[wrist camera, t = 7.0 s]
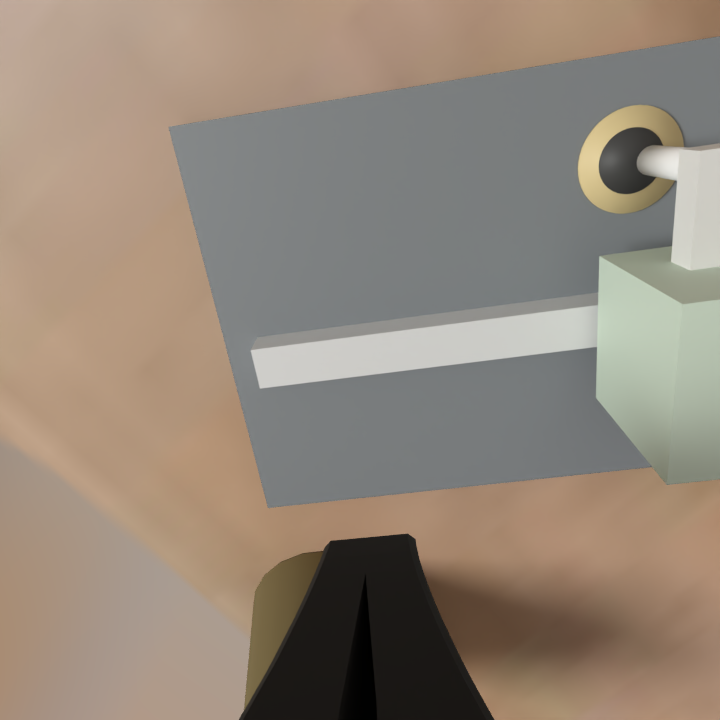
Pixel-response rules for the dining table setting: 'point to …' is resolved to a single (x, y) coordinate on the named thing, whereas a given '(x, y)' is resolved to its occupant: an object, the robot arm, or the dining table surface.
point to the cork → (276, 612)
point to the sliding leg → (668, 326)
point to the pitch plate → (437, 267)
